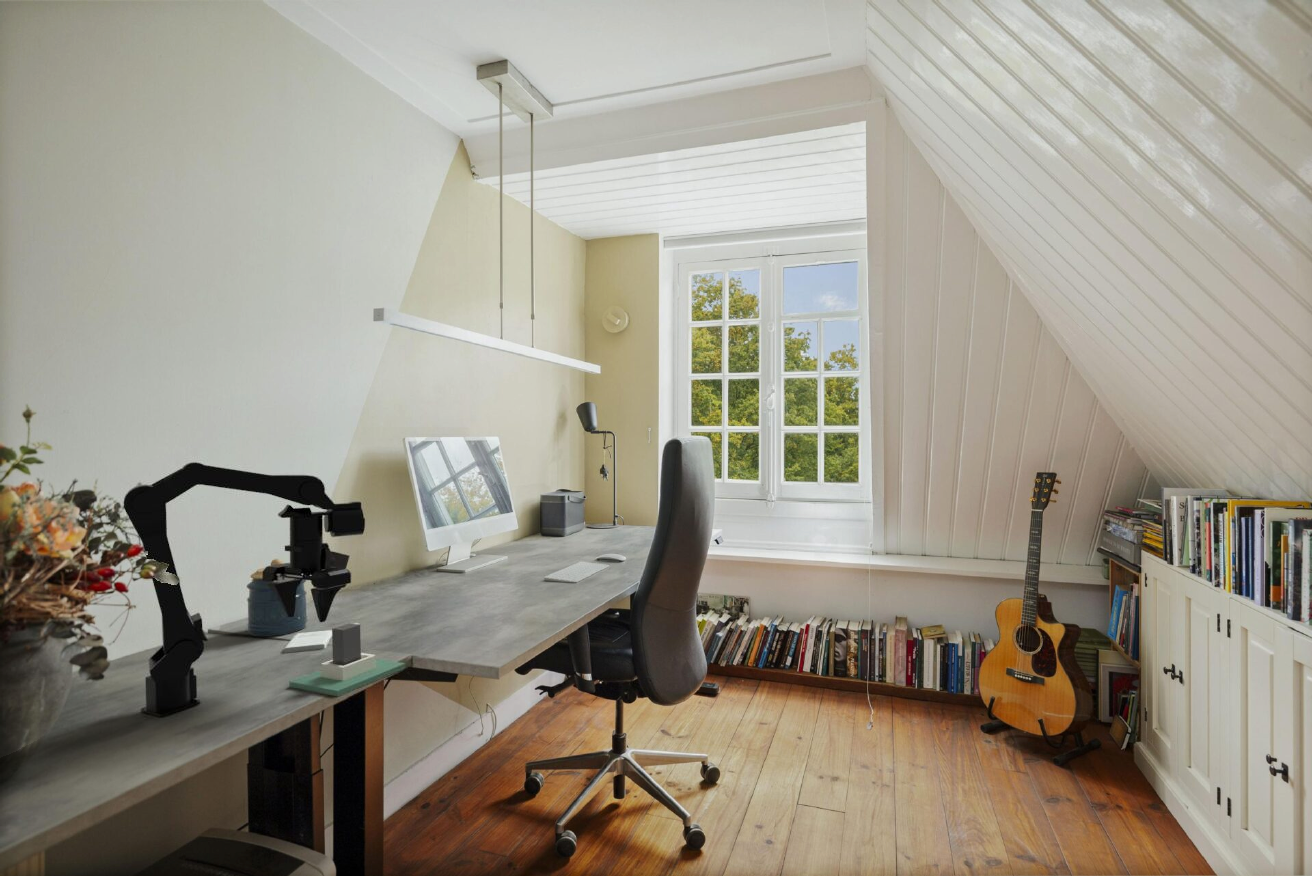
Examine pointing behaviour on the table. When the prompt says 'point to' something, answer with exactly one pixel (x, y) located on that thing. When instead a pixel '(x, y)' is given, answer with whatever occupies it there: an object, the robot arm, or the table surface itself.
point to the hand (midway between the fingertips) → (306, 619)
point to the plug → (346, 644)
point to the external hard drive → (309, 641)
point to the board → (346, 675)
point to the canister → (273, 608)
